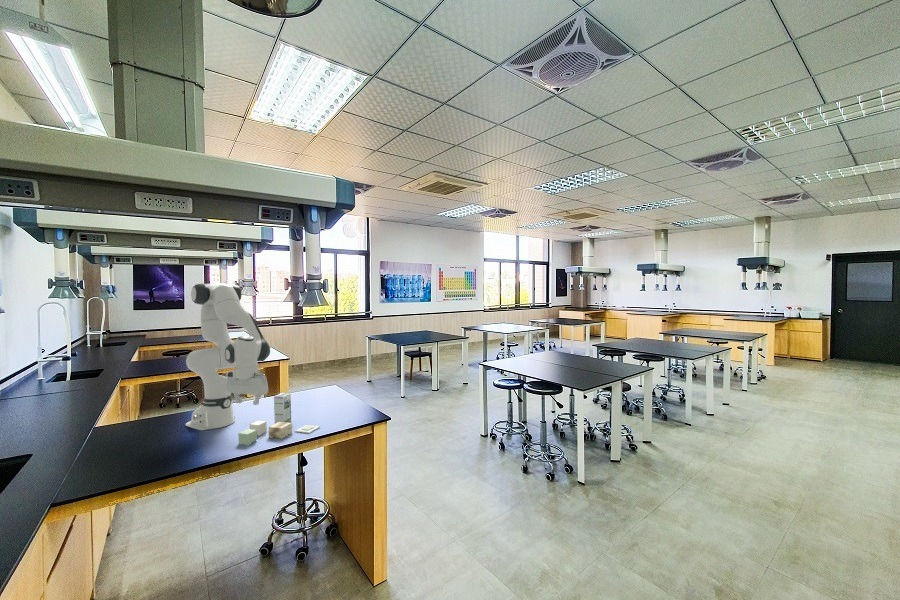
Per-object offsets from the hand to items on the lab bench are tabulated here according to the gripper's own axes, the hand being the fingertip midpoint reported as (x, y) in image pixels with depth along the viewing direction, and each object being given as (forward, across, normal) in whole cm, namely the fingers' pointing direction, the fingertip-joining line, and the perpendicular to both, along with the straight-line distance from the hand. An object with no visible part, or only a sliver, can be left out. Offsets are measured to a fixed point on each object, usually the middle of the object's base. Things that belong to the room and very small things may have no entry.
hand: (247, 403), depth 160 cm
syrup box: (+18, +4, -25) cm, 31 cm away
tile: (+18, -16, -20) cm, 31 cm away
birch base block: (+18, -8, -11) cm, 22 cm away
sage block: (+18, 0, 0) cm, 18 cm away
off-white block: (+18, +4, -10) cm, 21 cm away
